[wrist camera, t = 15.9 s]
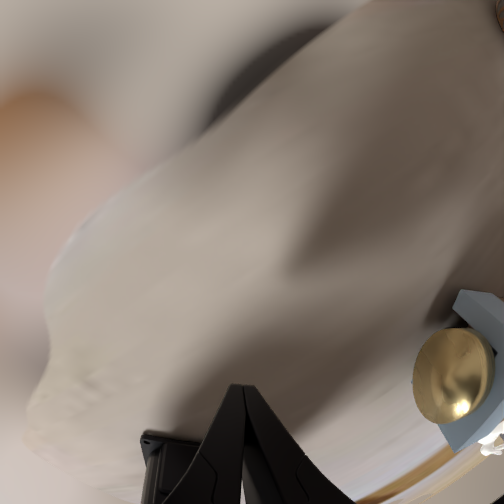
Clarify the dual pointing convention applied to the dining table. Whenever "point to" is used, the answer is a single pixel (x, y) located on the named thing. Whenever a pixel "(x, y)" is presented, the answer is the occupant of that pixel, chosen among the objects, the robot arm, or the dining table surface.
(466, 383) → the shaft
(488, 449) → the rabbit figurine
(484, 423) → the spacer
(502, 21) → the vase
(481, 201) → the dining table surface
